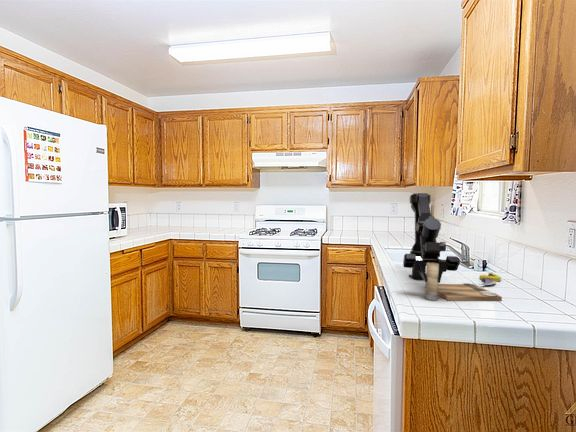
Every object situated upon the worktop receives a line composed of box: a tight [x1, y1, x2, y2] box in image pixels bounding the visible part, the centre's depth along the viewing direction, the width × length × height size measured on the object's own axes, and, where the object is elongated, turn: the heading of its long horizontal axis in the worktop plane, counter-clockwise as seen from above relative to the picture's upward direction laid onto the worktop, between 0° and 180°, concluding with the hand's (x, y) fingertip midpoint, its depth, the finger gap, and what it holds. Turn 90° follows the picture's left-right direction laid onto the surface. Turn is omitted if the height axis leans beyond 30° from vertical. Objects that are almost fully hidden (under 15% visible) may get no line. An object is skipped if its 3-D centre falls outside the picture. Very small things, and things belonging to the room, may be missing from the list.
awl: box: [424, 262, 439, 302], centre depth 122 cm, size 4×4×13 cm
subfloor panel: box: [424, 283, 503, 302], centre depth 129 cm, size 17×20×2 cm
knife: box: [477, 272, 502, 286], centre depth 148 cm, size 8×3×25 cm
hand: (432, 282), depth 120 cm, fingers closed on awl, 4 cm apart
